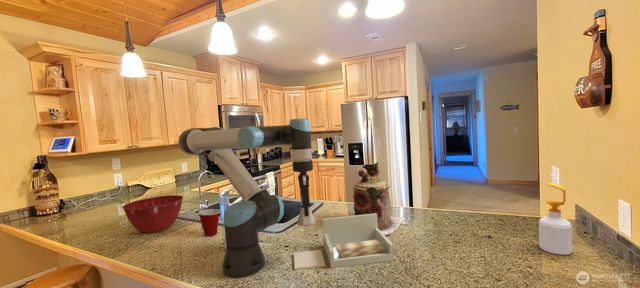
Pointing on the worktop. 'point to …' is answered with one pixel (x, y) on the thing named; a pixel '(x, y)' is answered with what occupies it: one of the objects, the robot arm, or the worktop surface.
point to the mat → (308, 260)
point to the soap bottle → (555, 228)
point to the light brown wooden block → (359, 249)
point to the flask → (300, 219)
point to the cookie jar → (375, 199)
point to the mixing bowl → (153, 213)
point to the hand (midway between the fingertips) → (306, 221)
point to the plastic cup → (209, 221)
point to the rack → (355, 238)
